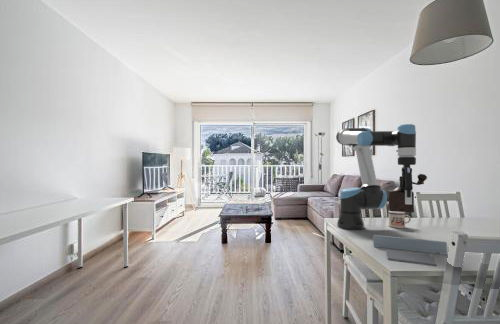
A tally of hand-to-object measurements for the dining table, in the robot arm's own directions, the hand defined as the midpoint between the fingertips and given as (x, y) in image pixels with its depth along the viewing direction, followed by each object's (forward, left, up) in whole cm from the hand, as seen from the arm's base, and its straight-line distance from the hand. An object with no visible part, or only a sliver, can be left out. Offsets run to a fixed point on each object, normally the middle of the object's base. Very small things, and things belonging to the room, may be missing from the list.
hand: (406, 202), depth 127 cm
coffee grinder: (0, 0, -4) cm, 4 cm away
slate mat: (+22, -2, -19) cm, 29 cm away
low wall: (+11, -1, -19) cm, 22 cm away
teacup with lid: (-35, 0, -20) cm, 40 cm away
